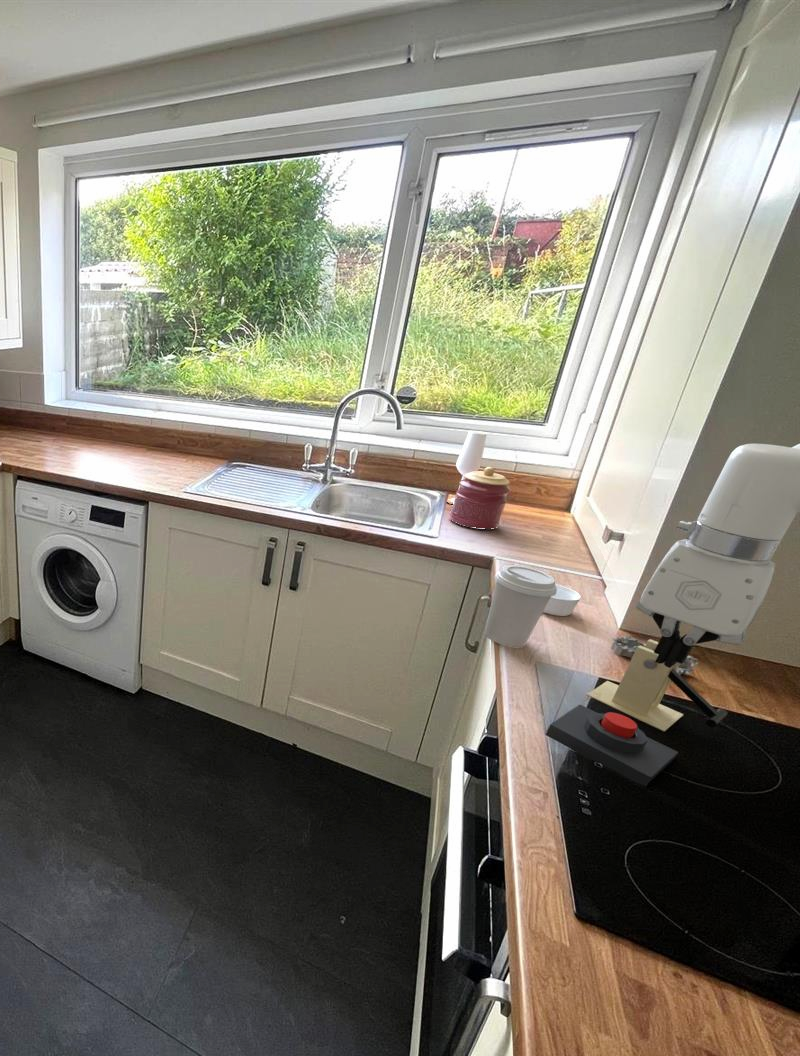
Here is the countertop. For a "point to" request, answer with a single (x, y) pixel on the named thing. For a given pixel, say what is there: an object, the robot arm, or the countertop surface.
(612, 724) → the button
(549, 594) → the coffee cup
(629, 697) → the beige lever stand
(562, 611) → the ramekin
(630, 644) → the egg carton
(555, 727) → the button block
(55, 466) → the countertop surface
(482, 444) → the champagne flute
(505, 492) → the kitchen canister
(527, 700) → the countertop surface
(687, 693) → the lever
